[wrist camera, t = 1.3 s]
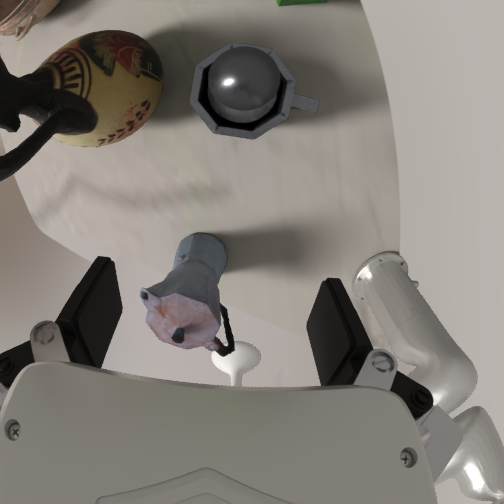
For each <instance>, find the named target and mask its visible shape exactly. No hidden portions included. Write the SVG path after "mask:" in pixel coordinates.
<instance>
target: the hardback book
mask: <svg viewBox="0 0 504 504" xmlns="http://www.w3.org/2000/svg"><path fill="white" fill-rule="evenodd" d="M327 1H328V0H277V3H278V6H284V5H293V4H304V3H322V2H327Z"/></svg>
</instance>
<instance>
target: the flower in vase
mask: <svg viewBox="0 0 504 504" xmlns="http://www.w3.org/2000/svg"><path fill="white" fill-rule="evenodd" d="M234 342H235V343H234V344H235V351H234V352H232V353H231V354H228V355H227V356H225V357H222V356H220V355H219V354H218V353H217V352H216V351H213V352H212V355H211V358H212V361H213V363H214V364H215V366H216V367H218V368H219V369H220V370H222V371H224V372H226V373H228V374H229V375H230V376H231V386H241V387H242V383H241V381H242V376H243V374H245V373H247V372H249V371H251V370H253V369H254V368H255V367H256V366H257V365H258V364H259V362H260V360H261V353H260V352H259V350H258V349H257V348H256V347H254V346H253V345H251V344H249V343H245V342H241V341H234ZM223 344H224V345H225V346H228V342H226V343H223Z"/></svg>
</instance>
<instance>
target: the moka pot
mask: <svg viewBox="0 0 504 504" xmlns="http://www.w3.org/2000/svg"><path fill="white" fill-rule="evenodd" d="M227 260H228V259H227V254H226V250H225V246H224V245H223V244H222V243H221V242H220V241H219V240H218V239H216V238H215V237H214V236H212V235H209V234H203V233H194V234H191V235H189V236H187V237H186V238H184V239H183V240H182V241H181V242H180V244H179V247H178V250H177V253H176V256H175V261H174V266H173V270H172V271H171V272H169V274H168V275H167V277H166V278H165V280H164V281H162V282H160V283H158V284H155V285H154V286H152V287H150V288H147V289H145V288H141V289H140V298H141V299H142V302H143V303H144V305H145V306H146V308H147V309H148V312H147V316H146V323H147V324H148V326H149V327H150V328H151V330H152V331H153V332H154V333H155V335H156V336H157V337H158V338H159V340H161V341H163V342H166V343H169V344H172V345H174V346H177V347H180V348H183V349H192V348H196V347H200V346H204V347H205V348H207V349H208V350H210V351H216V352H217V353H218V354H219V355H220V356H222V357H225V356H227V355H228V354H231V353H232V352H234V351H235V344H234V343H235V342H234V338H233V334H232V331H231V327H230V324H229V318H228V313H227V309H226V308H225V307H224V306H222V304H221V303H220V297H219V289H218V287H217V285H218V283H219V280H220V278H221V275H222V273H223V270H224V268H225V265H226V263H227ZM220 312H221V313H222V317H223V319H224V322H223V323H224V327H225V333H226V339H227V341H228V346H225V345H224V344H223V343H222V342H221V341H220V339H218V338H217V337H216V336H215V335H216V334H217V332H218V330H219V328H220V326H221V317H220V316H221V314H220Z"/></svg>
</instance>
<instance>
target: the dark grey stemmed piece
mask: <svg viewBox="0 0 504 504" xmlns="http://www.w3.org/2000/svg"><path fill="white" fill-rule="evenodd" d="M208 83H209V85H208V98H209V101H210V104H211V106H212V107H213V109H214V110H215V111H216V112H217V113H218V114H219V115H220V116H221V117H223V118H225V119H227V120H229V121H232V122H238V123H246V122H252V121H255V120H257V119H259V118H261V117H263V116H264V115H266V114H267V113H268V112H269V111H270V109H271V108H272V107H273V105H274V103H275V101H276V97H277V90H278V88H279V85H280V72H279V69H278V66H277V64H276V62H275V61H274V60H273V58H272V57H271V56H270V55H268V54H267V53H266V52H264V51H262V50H260V49H257V48H254V47H248V46H241V47H235V48H231V49H229V50H227V51H225V52H223V53H222V54H220V55H219V56H218V57H217V58H216V59H215V61H214V62H213V64H212V65H211V68H210V70H209V75H208Z"/></svg>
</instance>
